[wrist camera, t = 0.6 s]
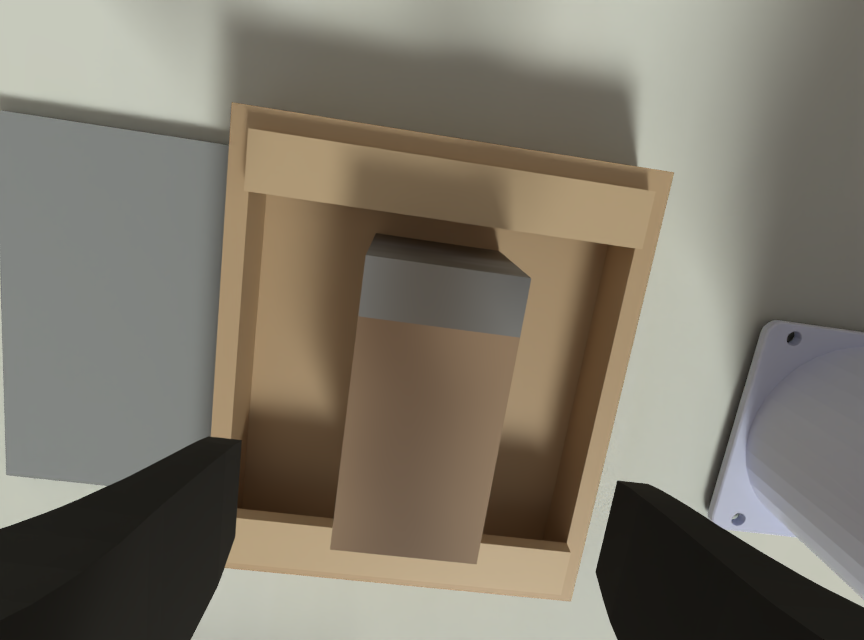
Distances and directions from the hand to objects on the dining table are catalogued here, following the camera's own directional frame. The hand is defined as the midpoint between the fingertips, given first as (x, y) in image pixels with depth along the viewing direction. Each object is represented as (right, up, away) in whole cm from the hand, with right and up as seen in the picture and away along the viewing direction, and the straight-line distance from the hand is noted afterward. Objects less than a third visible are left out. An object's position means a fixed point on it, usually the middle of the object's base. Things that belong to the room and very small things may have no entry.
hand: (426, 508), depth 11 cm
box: (0, +2, +9) cm, 9 cm away
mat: (-10, +4, +8) cm, 14 cm away
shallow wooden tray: (0, +2, +9) cm, 9 cm away
